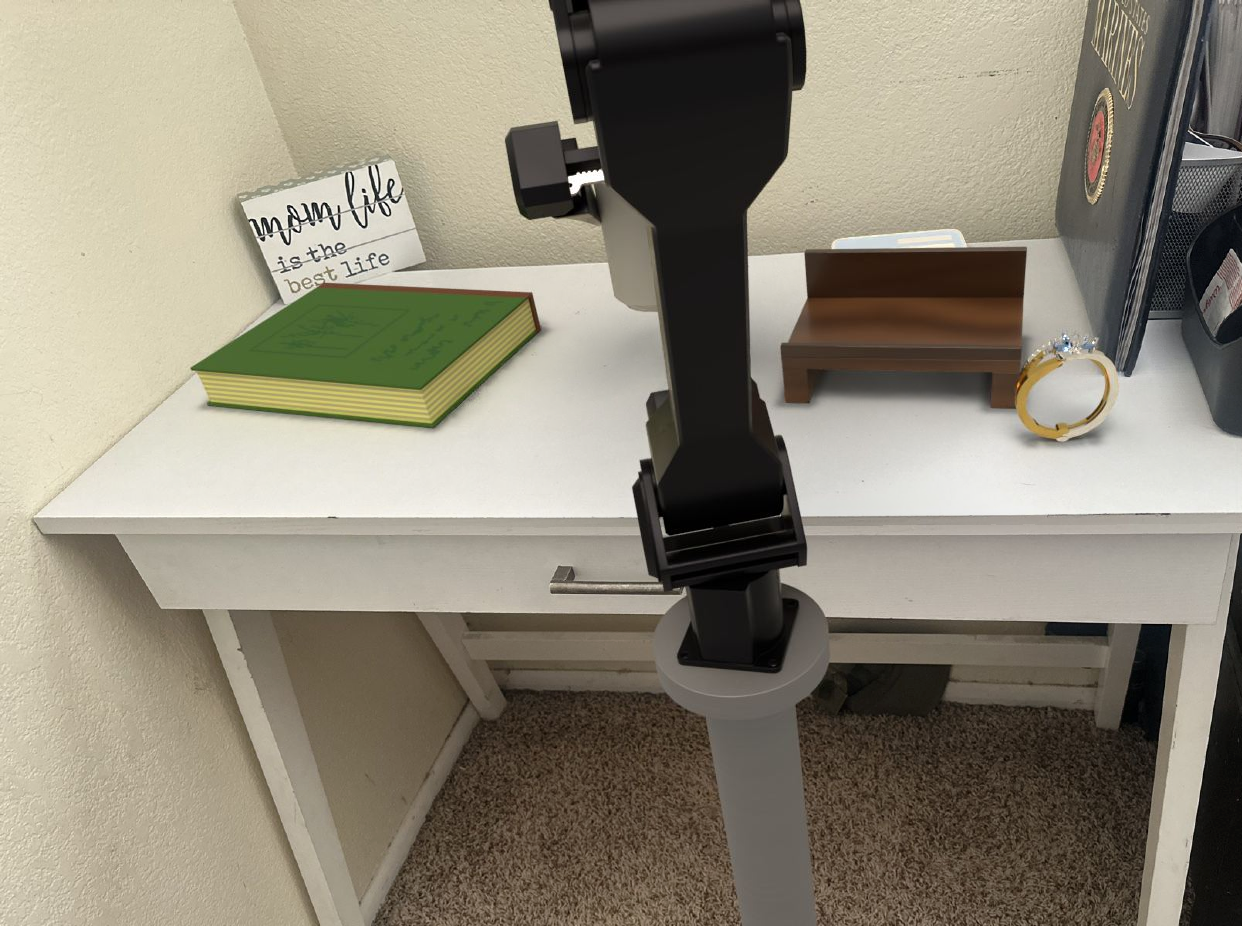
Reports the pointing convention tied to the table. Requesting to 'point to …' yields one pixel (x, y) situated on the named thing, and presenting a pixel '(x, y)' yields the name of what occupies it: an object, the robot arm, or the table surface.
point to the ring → (1064, 351)
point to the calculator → (904, 240)
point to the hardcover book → (371, 352)
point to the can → (626, 251)
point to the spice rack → (909, 315)
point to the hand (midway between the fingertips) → (646, 212)
